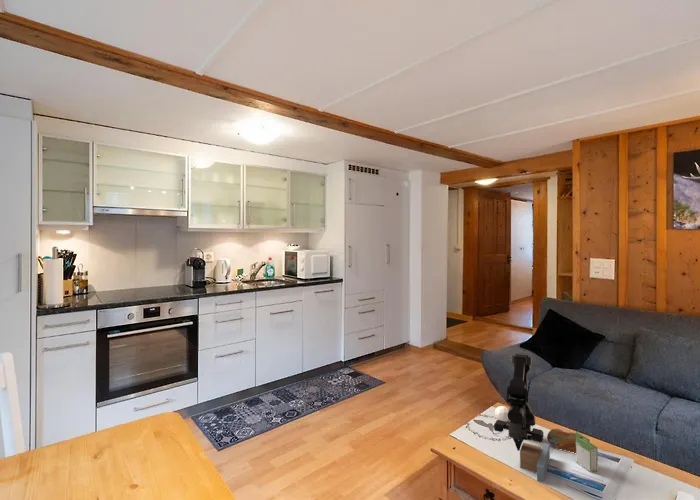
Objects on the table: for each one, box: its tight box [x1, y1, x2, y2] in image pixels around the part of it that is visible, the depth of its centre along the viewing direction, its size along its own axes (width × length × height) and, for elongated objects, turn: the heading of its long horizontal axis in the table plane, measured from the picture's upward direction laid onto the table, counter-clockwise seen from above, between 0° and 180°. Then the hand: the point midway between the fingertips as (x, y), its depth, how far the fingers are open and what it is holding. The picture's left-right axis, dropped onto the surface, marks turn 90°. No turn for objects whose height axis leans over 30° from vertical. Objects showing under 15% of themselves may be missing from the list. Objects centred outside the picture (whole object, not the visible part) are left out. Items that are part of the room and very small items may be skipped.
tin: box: [546, 428, 584, 454], centre depth 163 cm, size 15×3×8 cm, turn 53°
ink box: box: [575, 431, 599, 472], centre depth 151 cm, size 7×4×13 cm, turn 12°
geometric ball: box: [494, 405, 510, 423], centre depth 192 cm, size 8×8×8 cm
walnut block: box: [519, 442, 542, 474], centre depth 152 cm, size 8×7×7 cm
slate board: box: [536, 442, 551, 484], centre depth 150 cm, size 20×2×6 cm, turn 145°
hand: (518, 450), depth 155 cm, fingers closed
